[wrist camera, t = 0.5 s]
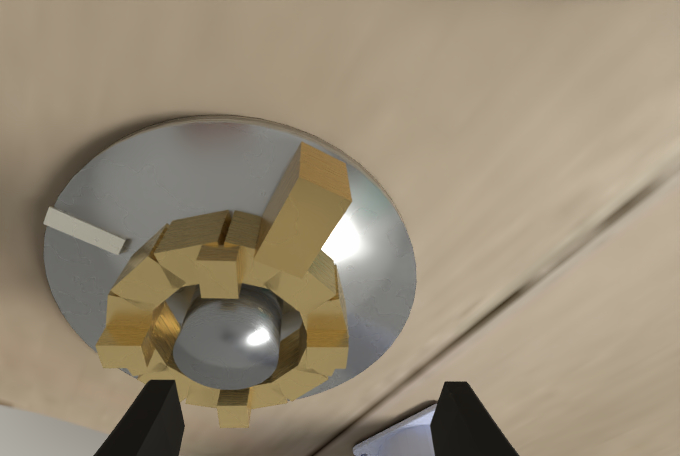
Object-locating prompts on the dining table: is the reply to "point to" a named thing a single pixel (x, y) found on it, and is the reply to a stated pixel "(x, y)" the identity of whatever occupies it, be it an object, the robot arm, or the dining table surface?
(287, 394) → the ring nut
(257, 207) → the flange
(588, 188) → the dining table surface
